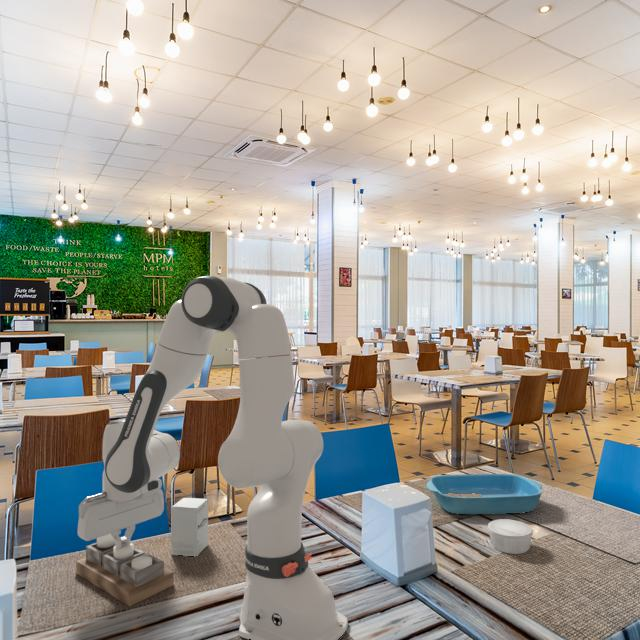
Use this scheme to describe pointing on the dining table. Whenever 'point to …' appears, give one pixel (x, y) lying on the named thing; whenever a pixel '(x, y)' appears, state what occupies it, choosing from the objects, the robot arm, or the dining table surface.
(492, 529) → the ramekin
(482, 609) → the dining table surface
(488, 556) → the dining table surface
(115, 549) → the knob middle
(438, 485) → the casserole dish
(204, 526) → the supplement box
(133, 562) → the knob near
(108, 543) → the knob far
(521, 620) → the dining table surface
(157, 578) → the knob mount
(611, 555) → the dining table surface
